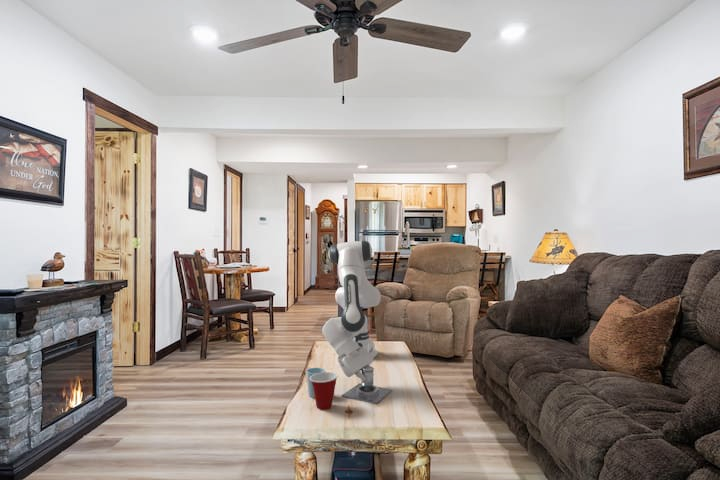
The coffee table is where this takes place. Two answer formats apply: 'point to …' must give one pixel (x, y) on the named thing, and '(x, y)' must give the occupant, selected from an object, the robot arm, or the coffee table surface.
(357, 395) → the flange
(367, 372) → the metal cylinder
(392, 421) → the coffee table surface
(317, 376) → the plastic cup
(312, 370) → the cup
